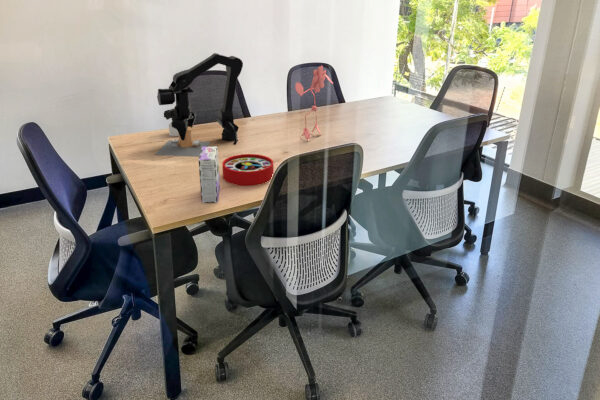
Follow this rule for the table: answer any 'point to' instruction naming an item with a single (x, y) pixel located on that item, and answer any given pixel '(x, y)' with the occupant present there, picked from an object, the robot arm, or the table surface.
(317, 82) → the figurine
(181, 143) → the tan rounded piece
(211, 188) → the candy box
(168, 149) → the stand
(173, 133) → the medicine bottle
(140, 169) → the table surface
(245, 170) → the toy clock
